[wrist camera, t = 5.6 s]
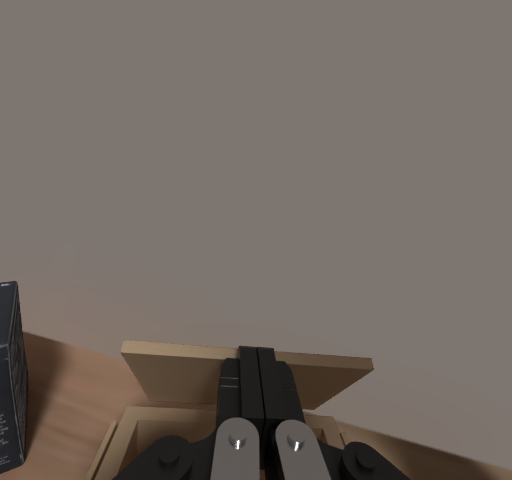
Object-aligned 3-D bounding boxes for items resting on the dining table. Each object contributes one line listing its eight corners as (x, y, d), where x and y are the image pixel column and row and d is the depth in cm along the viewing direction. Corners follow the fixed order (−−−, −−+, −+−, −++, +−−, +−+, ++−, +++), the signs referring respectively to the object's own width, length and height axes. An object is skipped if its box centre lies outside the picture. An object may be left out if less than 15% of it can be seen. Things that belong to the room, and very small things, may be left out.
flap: (312, 399, 21) (370, 355, 14) (313, 409, 21) (373, 369, 13) (152, 390, 20) (124, 337, 13) (150, 400, 20) (120, 352, 12)
